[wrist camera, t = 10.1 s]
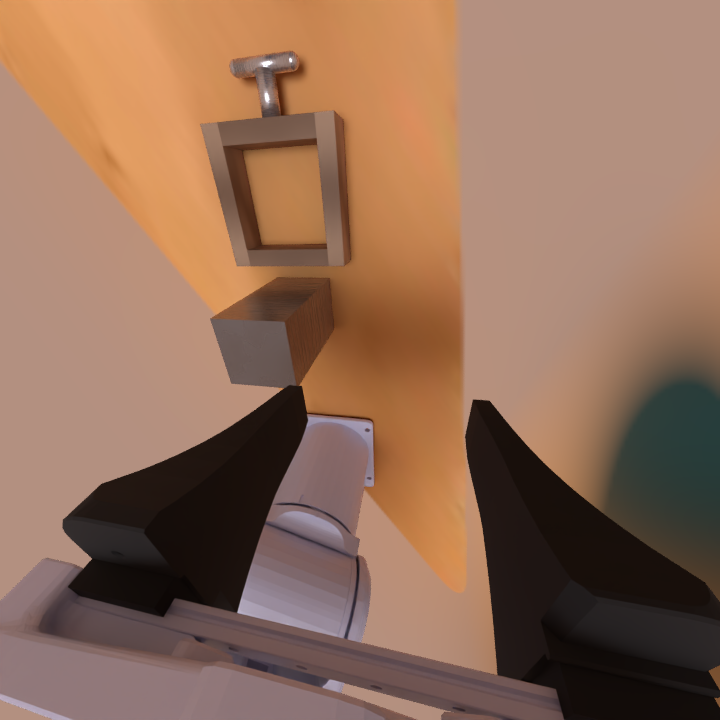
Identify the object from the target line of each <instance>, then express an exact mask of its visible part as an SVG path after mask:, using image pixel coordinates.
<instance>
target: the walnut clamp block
mask: <svg viewBox="0 0 720 720" xmlns="http://www.w3.org/2000/svg"><path fill="white" fill-rule="evenodd" d="M229 67H230V71H231V73H232V75H233V76H234V77H236V78H238V79H240V78H248V77H255V76H256V82H257V88H258V94H259V100H260V106H261V112H262V118H256V119H246V120H236V121H226V122H217V123H207V124H200V125H201V129H202V132H203V136H204V140H205V144H206V148H207V152H208V156H209V160H210V164H211V167H212V171H213V175H214V179H215V183H216V187H217V191H218V195H219V198H220V202H221V206H222V210H223V214H224V218H225V222H226V226H227V230H228V233H229V237H230V241H231V245H232V249H233V253H234V257H235V261H236V265H237V266H345V265H346V264H347V263H348V262H349V261H350V260H351V252H350V234H349V216H348V198H347V180H346V162H345V144H344V126H343V119H342V118H341V117H340V116H339V115H338V114H337V113H336V112H335V111H324V112H314V113H305V114H295V115H285V116H281V111H280V104H279V96H278V89H277V82H276V75H275V74H278V73H286V72H293V71H296V70H297V69H298V67H299V58H298V56H297V54H296V53H295V52H293V51H286V52H279V53H272V54H265V55H258V56H251V57H244V58H237V59H232V60H231V61H230V64H229ZM314 144H317V146H318V157H319V167H320V178H321V188H322V199H323V209H324V220H325V230H326V241H327V244H303V245H261V240H260V235H259V231H258V226H257V221H256V216H255V211H254V206H253V201H252V197H251V192H250V187H249V182H248V177H247V172H246V168H245V163H244V158H243V153H242V150H253V149H265V148H277V147H290V146H302V145H314Z"/></svg>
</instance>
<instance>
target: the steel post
mask: <svg viewBox="0 0 720 720" xmlns="http://www.w3.org/2000/svg"><path fill="white" fill-rule="evenodd" d="M210 320H211V323H212V325H213V329H214V332H215V335H216V338H217V341H218V344H219V347H220V350H221V353H222V356H223V359H224V362H225V365H226V368H227V371H228V374H229V377H230V381H231V383H232V384H244V385H255V386H269V387H279V388H286V387H287V386H288V385H294V386H299V385H300V383H301V382H302V380H303V378H304V377H305V375H306V374H307V372H308V370H309V369H310V367H311V366H312V364H313V362H314V361H315V359H316V357H317V356H318V354H319V353H320V351H321V349H322V348H323V346H324V345H325V343H326V341H327V340H328V338H329V336H330V335H331V333H332V332H333V330H334V322H333V311H332V299H331V288H330V278H285V277H278V278H276V279H274V280H273V281H271V282H269V283H268V284H266V285H265V286H263V287H261V288H260V289H258V290H256V291H255V292H253V293H251V294H250V295H248V296H247V297H245V298H243V299H242V300H240V301H238V302H237V303H235V304H233V305H232V306H230V307H229V308H227V309H225V310H224V311H222V312H220V313H219V314H217V315H215V316H214V317H212V318H211V319H210Z"/></svg>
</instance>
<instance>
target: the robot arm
mask: <svg viewBox="0 0 720 720" xmlns="http://www.w3.org/2000/svg"><path fill="white" fill-rule="evenodd" d="M366 428H368V429H366ZM465 439H466V450H467V459H468V464H469V469H470V473H471V478H472V482H473V486H474V490H475V495H476V499H477V503H478V508H479V512H480V517H481V522H482V528H483V535H484V542H485V551H486V558H487V567H488V576H489V585H490V593H491V604H492V614H493V625H494V637H495V649H496V659H497V673H498V675H494V674H490V673H486V672H482V671H477V670H474V669H469V668H465V667H461V666H457V665H453V664H448V663H444V662H440V661H436V660H432V659H428V658H423V657H419V656H415V655H411V654H407V653H402V652H398V651H394V650H390V649H386V648H381V647H377V646H373V645H368V644H365V643H361V641H362V638H363V634H364V630H365V626H366V621H367V617H368V611H369V604H370V594H371V579H370V573H369V570H368V567H367V563H366V560H365V559H364V557H362V556H360V555H357V552H358V547H359V541H360V539H359V538H357V537H355V534H356V529H357V523H358V518H359V513H360V507H361V502H362V497H363V491H364V486H367V487H372V486H374V443H373V423H372V421H370V420H365V419H355V418H344V417H334V416H323V415H312V414H307V411H306V406H305V400H304V395H303V390H302V386H294V385H288V386H287V387H286V388H284V389H283V390H281V391H280V392H279V393H277V394H276V395H275V396H273V397H272V398H271V399H269V400H268V401H267V402H265V403H264V404H263V405H261V406H260V407H258V408H257V409H256V410H254V411H253V412H251V413H250V414H249V415H247V416H246V417H244V418H242V419H241V420H240V421H238V422H237V423H235V424H234V425H232V426H231V427H229V428H227V429H226V430H224V431H222V432H221V433H219V434H217V435H215V436H214V437H212V438H210V439H208V440H207V441H205V442H203V443H201V444H199V445H197V446H195V447H193V448H191V449H189V450H186V451H184V452H182V453H180V454H178V455H176V456H174V457H172V458H169V459H167V460H165V461H162V462H160V463H157V464H155V465H153V466H150V467H148V468H145V469H142V470H140V471H137V472H134V473H131V474H129V475H126V476H123V477H120V478H117V479H114V480H112V481H109V482H106V483H103V484H101V485H100V486H99V487H98V488H97V489H96V490H94V491H93V492H92V493H91V494H90V495H89V496H88V497H87V498H86V499H85V500H84V501H83V502H82V503H81V504H80V505H78V506H77V507H76V508H75V509H74V510H73V511H72V512H71V513H70V514H69V515H68V516H67V517H66V518H65V519H63V529H64V531H65V533H66V534H67V535H68V536H69V537H70V538H71V539H72V540H73V541H74V542H75V543H76V544H77V545H78V546H79V547H80V548H81V549H82V550H83V551H85V552H86V553H87V554H88V555H89V556H90V557H91V558H92V560H91V561H90V562H89V563H88V564H87V565H86V567H85V568H84V569H83V568H81V567H79V566H77V565H75V564H72V563H67V562H63V561H59V560H54V559H50V558H45V559H42V560H41V561H40V562H39V563H38V564H37V565H36V566H35V567H34V568H33V569H32V570H31V571H30V572H29V573H28V574H27V575H26V576H25V577H24V578H23V579H22V580H21V581H20V582H19V583H18V584H17V585H16V586H15V587H14V588H13V589H12V590H11V591H10V592H9V593H8V594H7V595H6V596H5V597H4V598H3V599H2V600H1V601H0V700H2V701H5V702H8V703H10V704H13V705H16V706H18V707H21V708H24V709H26V710H29V711H32V712H35V713H37V714H40V715H43V716H46V717H48V718H51V719H53V720H416V719H414V718H411V717H408V716H405V715H402V714H399V713H397V712H394V711H391V710H388V709H386V708H383V707H379V706H377V705H374V704H371V703H367V702H365V701H363V700H360V699H357V698H354V697H350V696H348V695H345V694H342V693H341V692H342V688H343V685H344V683H346V684H350V685H353V686H357V687H361V688H365V689H368V690H372V691H376V692H380V693H383V694H387V695H391V696H395V697H398V698H402V699H406V700H409V701H413V702H417V703H421V704H424V705H428V706H432V707H436V708H440V709H443V710H447V711H451V712H444V713H443V714H442V716H441V720H720V707H719V706H718V704H717V702H716V700H715V699H714V698H719V697H720V690H719V688H718V686H717V685H716V683H715V681H714V680H713V678H712V676H711V675H710V673H709V670H711V669H713V668H715V667H717V666H719V665H720V602H719V600H718V599H717V598H716V596H715V595H714V594H713V592H712V591H711V590H710V588H709V587H708V586H707V585H706V583H705V582H703V581H702V580H700V579H699V578H697V577H696V576H694V575H692V574H691V573H689V572H688V571H686V570H685V569H683V568H681V567H680V566H679V565H677V564H675V563H674V562H672V561H670V560H669V559H668V558H666V557H665V556H663V555H661V554H660V553H658V552H657V551H655V550H653V549H652V548H650V547H649V546H647V545H646V544H645V543H643V542H642V541H640V540H639V539H638V538H636V537H635V536H633V535H632V534H631V533H629V532H628V531H626V530H624V529H623V528H622V527H621V526H619V525H617V523H615V522H614V521H612V520H611V519H610V518H608V517H607V516H606V515H604V514H603V513H602V512H600V511H599V510H598V509H597V508H595V507H594V506H593V505H592V504H590V503H589V502H588V501H587V500H585V499H584V498H583V497H582V496H580V495H579V494H578V493H577V492H576V491H574V490H573V489H572V488H571V487H570V486H568V485H567V484H566V483H565V482H564V481H563V480H562V479H561V478H560V477H558V476H557V475H556V474H555V473H554V472H553V471H552V470H551V469H550V468H549V467H548V466H546V465H545V464H544V463H543V462H542V461H541V460H540V459H539V458H538V456H537V455H536V454H535V453H534V452H533V451H532V450H531V449H530V448H529V447H528V446H527V445H526V444H525V443H524V442H523V440H522V439H521V438H520V437H519V436H518V435H517V434H516V432H515V431H514V430H513V429H512V428H511V427H510V425H509V424H508V423H507V422H506V420H505V419H504V418H503V417H502V416H501V414H500V413H499V412H498V411H497V409H496V408H495V407H494V406H493V405H492V403H491V402H490V401H485V400H473V402H472V407H471V412H470V416H469V422H468V426H467V431H466V435H465ZM453 712H454V713H453Z"/></svg>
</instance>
